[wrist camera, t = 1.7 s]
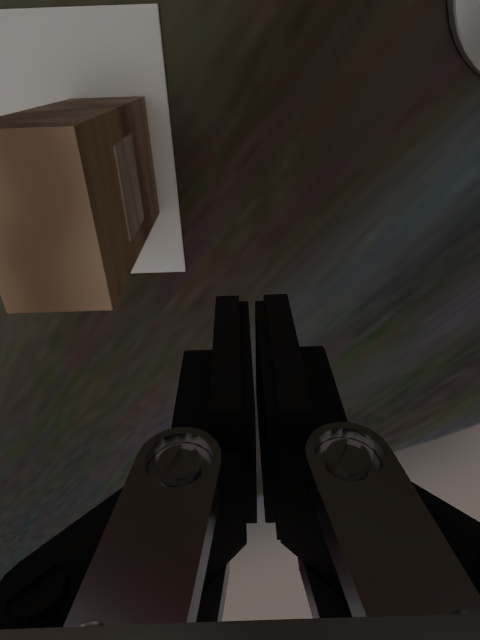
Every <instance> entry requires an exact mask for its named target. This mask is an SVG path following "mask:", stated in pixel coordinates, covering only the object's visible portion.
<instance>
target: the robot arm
mask: <svg viewBox="0 0 480 640" xmlns="http://www.w3.org/2000/svg"><path fill="white" fill-rule="evenodd" d="M447 5H448V15H449V24H450V28H451V31H452V35H453V38H454V41H455V44H456V46H457V48H458V50H459V52H460V53H461V55H462V57H463V59H464V60H465V61H466V63H467V64H468V65H469V66H470V67H471V68H472V69H473V70H474V71H475V72H476V73H477V74H479V75H480V0H447ZM255 330H256V395H257V411H258V425H259V439H260V453H261V467H262V481H263V495H264V509H265V522H266V523H274V522H275V523H276V532H277V539H278V540H281V543H282V544H283V545H284V546H286V547H287V548H288V549H289V550H290V551H292V552H293V553H294V554H295V555H296V556H297V557H298V564H299V571H300V574H301V578H302V581H303V585H304V588H305V591H306V595H307V599H308V602H309V606H310V610H311V613H312V617H313V619H286V620H285V619H284V620H253V621H226V622H222V616H223V610H224V604H225V597H226V590H227V584H228V578H229V561H230V560H231V559H232V558H233V557H234V556H235V555H236V554H237V553H238V552H239V551H240V550H241V549H242V548H243V547H244V546H245V545H246V543H247V542H246V541H247V534H246V533H247V532H246V523H257V492H256V429H255V401H254V386H253V370H252V355H251V339H250V324H249V309H248V301H241V302H239V296H216V306H215V321H214V336H213V350H189V351H185V352H184V355H183V361H182V367H181V373H180V379H179V385H178V391H177V397H176V403H175V409H174V415H173V421H172V427H171V429H168V430H164V431H162V432H160V433H158V434H157V435H155V436H153V437H152V438H150V439H149V440H148V441H147V442H146V443H145V444H144V445H143V446H142V448H141V449H140V451H139V452H138V454H137V456H136V458H135V461H134V463H133V465H132V468H131V470H130V472H129V475H128V477H127V479H126V482H125V484H124V486H123V487H122V488H121V489H120V490H118V491H117V492H115V493H114V494H113V495H111V496H110V497H109V498H107V499H106V500H104V501H103V502H102V503H100V504H99V505H98V506H96V507H95V508H93V509H92V510H91V511H89V512H88V513H86V514H85V515H84V516H82V517H81V518H80V519H78V520H77V521H75V522H74V523H73V524H71V525H70V526H69V527H67V528H66V529H64V530H63V531H62V532H60V533H59V534H57V535H56V536H55V537H53V538H52V539H51V540H49V541H48V542H46V543H45V544H44V545H42V546H41V547H39V548H38V549H37V550H35V551H34V552H33V553H31V554H30V555H28V556H27V557H26V558H24V559H23V560H22V561H20V562H19V563H18V564H17V565H15V566H14V567H13V568H12V569H11V570H10V571H9V572H8V573H6V574H5V575H4V577H3V578H0V640H480V522H478V521H476V520H475V519H473V518H472V517H470V516H468V515H467V514H465V513H463V512H461V511H460V510H458V509H456V508H455V507H453V506H451V505H450V504H448V503H446V502H445V501H443V500H441V499H440V498H438V497H436V496H434V495H433V494H431V493H429V492H428V491H426V490H424V489H423V488H421V487H419V486H418V485H416V484H414V483H413V482H411V481H410V479H409V477H408V476H407V474H406V473H405V471H404V469H403V468H402V466H401V464H400V463H399V461H398V459H397V458H396V456H395V454H394V453H393V451H392V449H391V448H390V446H389V445H388V444H387V443H386V441H385V440H384V439H383V438H382V437H381V436H380V435H378V434H377V433H376V432H374V431H373V430H371V429H369V428H367V427H365V426H362V425H360V424H355V423H350V422H348V421H347V418H346V415H345V412H344V409H343V405H342V402H341V399H340V396H339V393H338V390H337V387H336V383H335V380H334V377H333V374H332V371H331V368H330V365H329V362H328V358H327V355H326V352H325V350H324V347H322V346H309V347H299V343H298V339H297V335H296V330H295V326H294V322H293V318H292V313H291V309H290V305H289V300H288V296H287V294H272V295H264V301H255Z"/></svg>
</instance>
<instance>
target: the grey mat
mask: <svg viewBox="0 0 480 640" xmlns="http://www.w3.org/2000/svg"><path fill="white" fill-rule="evenodd" d="M131 96H145V102H146V110H147V118H148V126H149V134H150V141H151V149H152V157H153V165H154V172H155V180H156V188H157V196H158V204H159V211H160V213H159V215H158V217H157V219H156V221H155V223H154V226H153V228H152V230H151V232H150V234H149V236H148V238H147V240H146V242H145V244H144V246H143V248H142V250H141V252H140V254H139V256H138V259H137V261H136V263H135V265H134V267H133V269H132V271H131V273H154V272H185V271H186V266H185V257H184V247H183V237H182V228H181V218H180V209H179V199H178V189H177V180H176V170H175V160H174V151H173V141H172V131H171V122H170V112H169V103H168V93H167V83H166V74H165V64H164V54H163V45H162V35H161V25H160V16H159V6H158V4H132V5H104V6H77V7H49V8H21V9H0V116H3V115H7V114H11V113H15V112H19V111H23V110H27V109H31V108H35V107H39V106H43V105H47V104H51V103H55V102H59V101H63V100H67V99H73V98H102V97H131Z"/></svg>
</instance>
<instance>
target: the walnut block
mask: <svg viewBox="0 0 480 640" xmlns="http://www.w3.org/2000/svg"><path fill="white" fill-rule="evenodd" d="M159 213H160V211H159V204H158V196H157V188H156V180H155V172H154V165H153V157H152V149H151V141H150V134H149V126H148V118H147V110H146V102H145V96H131V97H102V98H73V99H67V100H63V101H59V102H55V103H51V104H47V105H43V106H39V107H35V108H31V109H27V110H23V111H19V112H15V113H11V114H7V115H3V116H0V295H1V297H2V300H3V303H4V306H5V309H6V311H7V313H34V312H66V311H98V310H113V308H114V306H115V304H116V302H117V300H118V298H119V296H120V294H121V292H122V289H123V287H124V285H125V283H126V281H127V279H128V277H129V275H130V273H131V271H132V269H133V267H134V265H135V263H136V261H137V259H138V256H139V254H140V252H141V250H142V248H143V246H144V244H145V242H146V240H147V238H148V236H149V234H150V232H151V230H152V228H153V226H154V223H155V221H156V219H157V217H158V215H159Z"/></svg>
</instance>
